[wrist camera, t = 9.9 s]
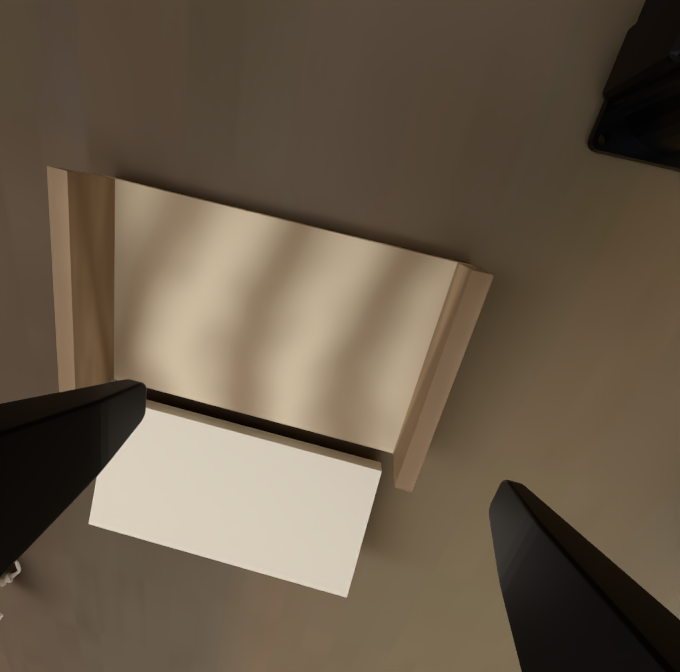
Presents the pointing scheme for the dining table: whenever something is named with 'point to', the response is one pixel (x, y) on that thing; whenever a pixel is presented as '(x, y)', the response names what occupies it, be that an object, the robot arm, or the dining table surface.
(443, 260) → the tray
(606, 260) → the dining table surface
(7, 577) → the rocket engine
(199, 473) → the panel
